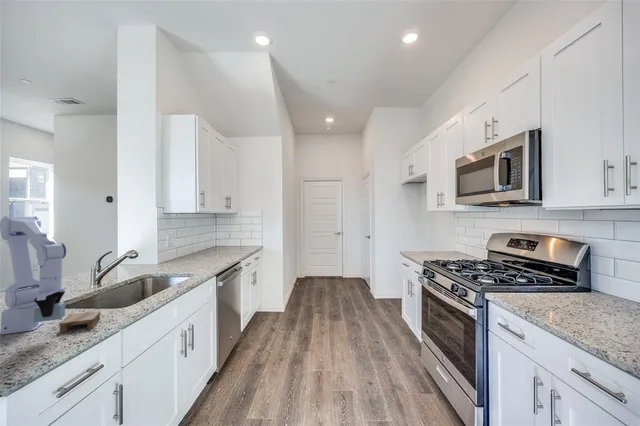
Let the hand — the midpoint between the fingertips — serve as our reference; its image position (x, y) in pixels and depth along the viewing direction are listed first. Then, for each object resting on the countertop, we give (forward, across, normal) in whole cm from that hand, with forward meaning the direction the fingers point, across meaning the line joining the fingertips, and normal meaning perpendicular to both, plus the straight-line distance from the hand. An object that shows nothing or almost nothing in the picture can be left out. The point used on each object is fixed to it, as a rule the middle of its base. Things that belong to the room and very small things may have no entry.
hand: (49, 314), depth 96 cm
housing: (+2, 0, 0) cm, 2 cm away
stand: (+8, +8, -7) cm, 14 cm away
